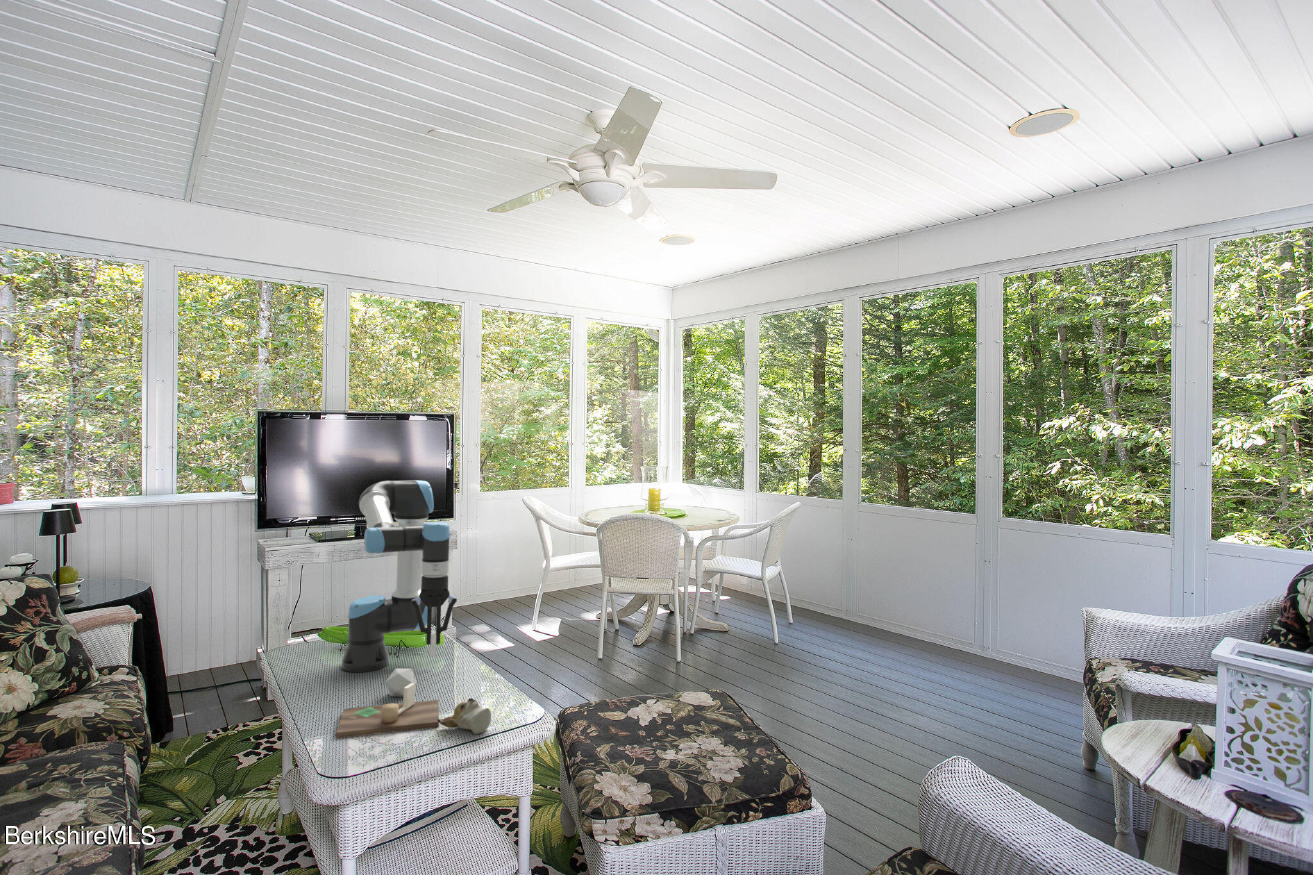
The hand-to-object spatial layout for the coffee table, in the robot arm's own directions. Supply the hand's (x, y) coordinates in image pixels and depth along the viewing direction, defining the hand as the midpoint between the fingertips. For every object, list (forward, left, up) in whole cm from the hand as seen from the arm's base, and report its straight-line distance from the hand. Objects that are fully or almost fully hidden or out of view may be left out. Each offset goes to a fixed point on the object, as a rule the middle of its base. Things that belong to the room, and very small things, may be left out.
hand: (433, 654), depth 195 cm
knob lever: (+4, -9, -15) cm, 17 cm away
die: (-15, -9, -17) cm, 24 cm away
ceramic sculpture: (+15, +10, -17) cm, 24 cm away
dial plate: (+4, -11, -17) cm, 20 cm away
